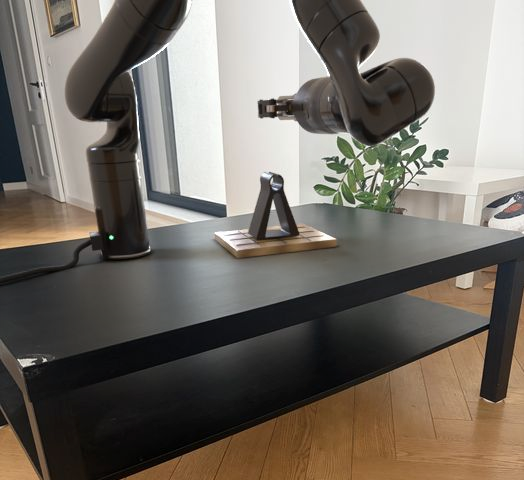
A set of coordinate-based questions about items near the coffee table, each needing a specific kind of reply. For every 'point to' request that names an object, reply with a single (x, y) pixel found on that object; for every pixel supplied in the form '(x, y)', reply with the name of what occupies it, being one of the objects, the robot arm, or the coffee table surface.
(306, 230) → the board
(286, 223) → the phone stand
